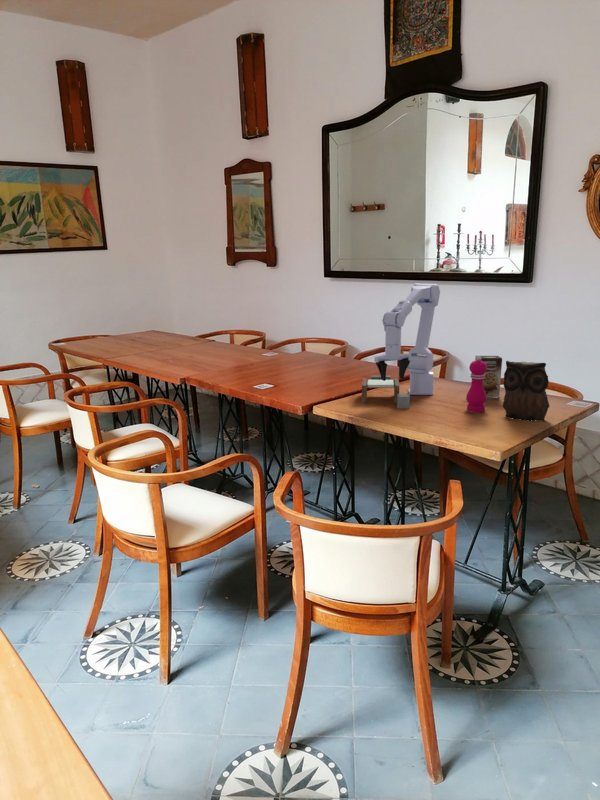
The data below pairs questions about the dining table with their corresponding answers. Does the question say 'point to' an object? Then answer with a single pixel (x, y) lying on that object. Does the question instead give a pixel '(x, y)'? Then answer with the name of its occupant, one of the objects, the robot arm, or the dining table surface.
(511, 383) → the owl
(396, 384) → the frame
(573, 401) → the dining table surface
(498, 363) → the coffee box
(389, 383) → the trapdoor
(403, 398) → the grey cube
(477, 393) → the pepper mill
